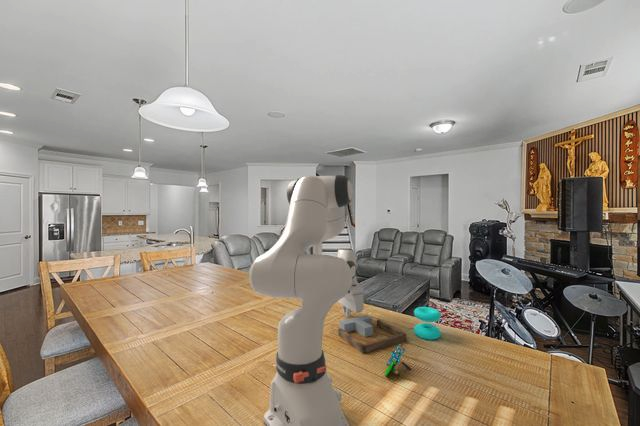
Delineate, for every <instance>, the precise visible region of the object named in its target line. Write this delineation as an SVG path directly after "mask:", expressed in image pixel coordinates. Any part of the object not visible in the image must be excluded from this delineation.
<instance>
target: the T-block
mask: <svg viewBox="0 0 640 426" xmlns="http://www.w3.org/2000/svg"><path fill="white" fill-rule="evenodd" d="M338 323H339V324H338V326H339V327H338V329H340V328H341V329H343V330H344V331H346V332H347V333H349V332H354V331H355V332H356V333H358V334H359V335H361V336H362V337H364V338H366V337H367V338H368V337H371V336H374V326H373V318H372V316H369V315H367V314H365V315H360V316H356V317H352V318H348V319H342V320H338Z"/></svg>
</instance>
